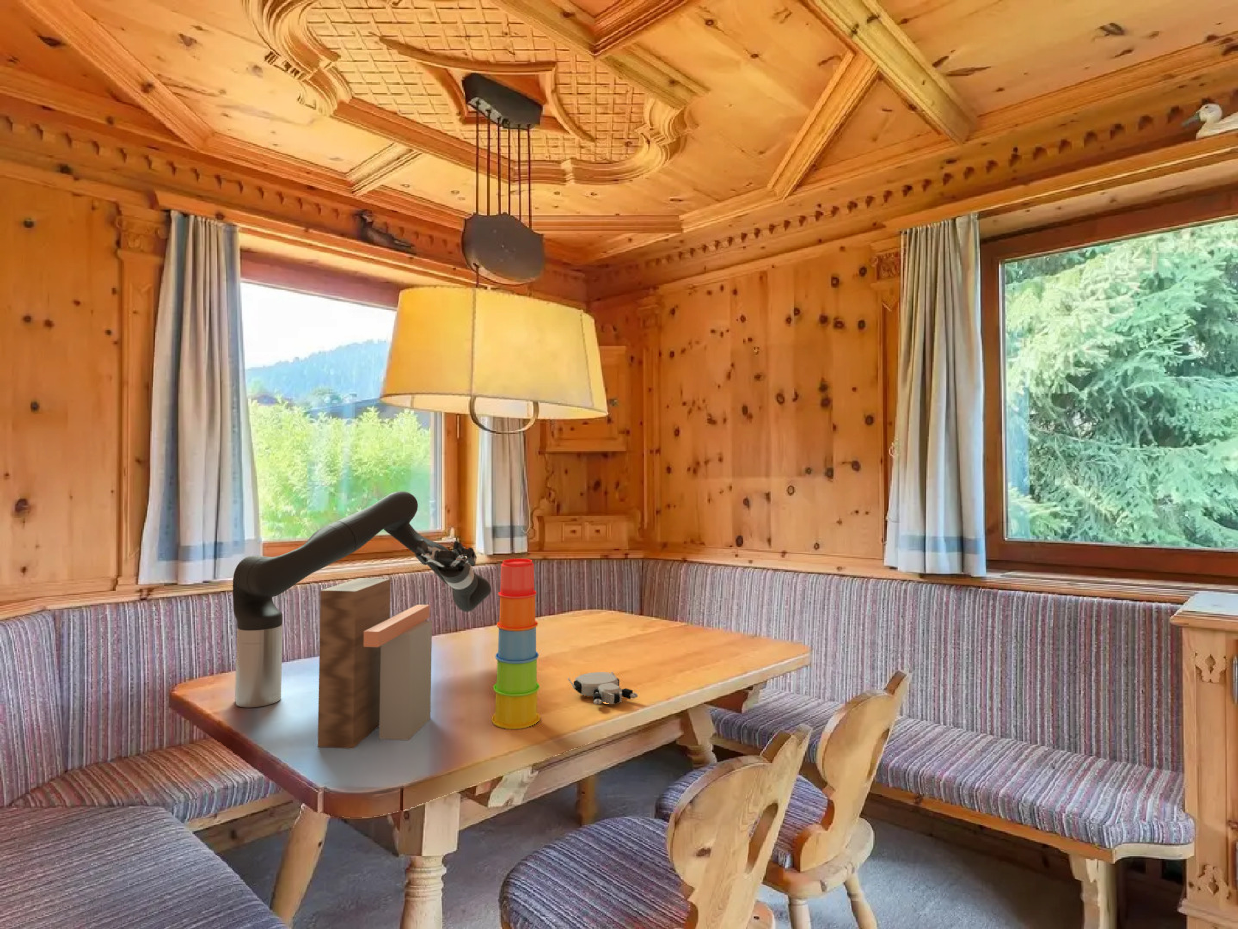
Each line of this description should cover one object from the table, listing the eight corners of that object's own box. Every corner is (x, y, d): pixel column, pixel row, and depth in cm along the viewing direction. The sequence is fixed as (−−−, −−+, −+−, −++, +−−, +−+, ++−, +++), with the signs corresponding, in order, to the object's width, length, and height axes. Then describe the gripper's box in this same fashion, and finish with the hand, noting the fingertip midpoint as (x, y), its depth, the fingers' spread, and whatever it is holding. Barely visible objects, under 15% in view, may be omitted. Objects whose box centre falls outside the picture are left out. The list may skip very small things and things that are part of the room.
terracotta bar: (363, 646, 123) (363, 631, 123) (417, 617, 149) (417, 604, 149) (378, 647, 123) (378, 631, 123) (429, 617, 149) (429, 605, 149)
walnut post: (317, 746, 130) (320, 590, 130) (356, 717, 145) (359, 578, 146) (352, 748, 129) (355, 591, 130) (388, 718, 145) (390, 578, 145)
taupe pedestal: (379, 739, 134) (381, 632, 134) (403, 717, 146) (405, 620, 146) (408, 740, 133) (410, 633, 134) (430, 718, 145) (431, 620, 146)
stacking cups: (549, 719, 146) (551, 558, 146) (517, 733, 137) (519, 563, 138) (514, 709, 152) (516, 555, 152) (481, 722, 143) (483, 559, 144)
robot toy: (640, 708, 156) (610, 685, 169) (641, 689, 156) (610, 667, 169) (593, 716, 150) (565, 692, 163) (594, 696, 150) (566, 674, 163)
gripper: (432, 556, 178) (412, 528, 165) (485, 558, 177) (469, 530, 163) (426, 583, 174) (405, 557, 161) (480, 584, 173) (464, 558, 159)
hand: (438, 543), depth 162 cm, fingers open, 8 cm apart
